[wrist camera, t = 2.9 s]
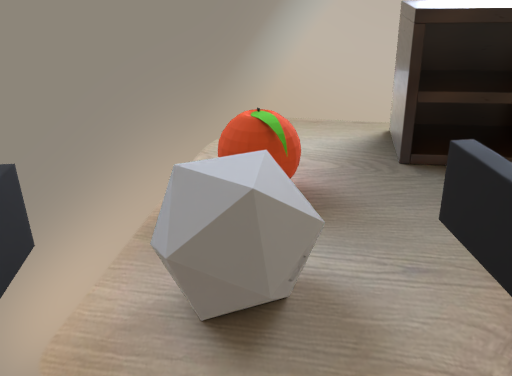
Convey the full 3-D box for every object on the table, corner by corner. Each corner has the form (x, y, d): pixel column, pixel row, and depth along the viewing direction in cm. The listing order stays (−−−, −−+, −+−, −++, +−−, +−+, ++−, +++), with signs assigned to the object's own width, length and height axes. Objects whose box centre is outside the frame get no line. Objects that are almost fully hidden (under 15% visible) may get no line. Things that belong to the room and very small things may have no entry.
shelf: (399, 163, 46) (415, 8, 41) (389, 129, 56) (401, 0, 50) (581, 170, 44) (626, 6, 38) (537, 133, 54) (567, -2, 48)
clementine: (324, 199, 39) (327, 114, 36) (248, 220, 36) (245, 129, 34) (274, 168, 46) (274, 94, 43) (207, 183, 43) (201, 105, 40)
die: (305, 371, 23) (372, 180, 25) (129, 319, 21) (214, 105, 22) (247, 321, 31) (300, 179, 33) (115, 279, 29) (177, 124, 30)
